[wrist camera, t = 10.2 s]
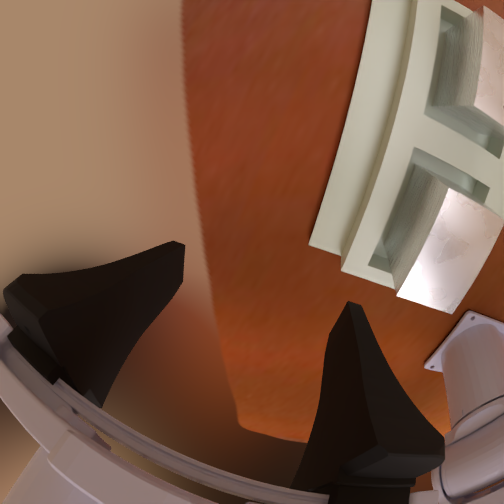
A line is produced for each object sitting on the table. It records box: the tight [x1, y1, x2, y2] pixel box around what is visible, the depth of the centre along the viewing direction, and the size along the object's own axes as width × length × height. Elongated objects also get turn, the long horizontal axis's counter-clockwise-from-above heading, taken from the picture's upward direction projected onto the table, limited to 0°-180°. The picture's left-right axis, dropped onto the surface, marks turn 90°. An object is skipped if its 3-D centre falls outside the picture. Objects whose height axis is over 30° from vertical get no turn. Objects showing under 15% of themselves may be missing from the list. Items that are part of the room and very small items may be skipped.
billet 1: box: [432, 5, 504, 140], centre depth 8 cm, size 4×6×6 cm, turn 168°
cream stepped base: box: [309, 0, 504, 289], centre depth 12 cm, size 14×20×3 cm
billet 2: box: [383, 164, 504, 314], centre depth 13 cm, size 4×6×6 cm, turn 168°
